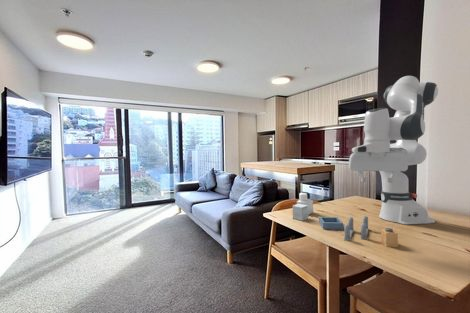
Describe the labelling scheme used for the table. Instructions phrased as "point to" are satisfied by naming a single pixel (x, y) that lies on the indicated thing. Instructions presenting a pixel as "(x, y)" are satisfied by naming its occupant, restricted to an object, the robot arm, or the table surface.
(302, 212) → the product box
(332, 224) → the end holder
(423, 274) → the table surface
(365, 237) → the clip
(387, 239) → the block with round knob
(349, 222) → the clip
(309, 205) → the medicine bottle
